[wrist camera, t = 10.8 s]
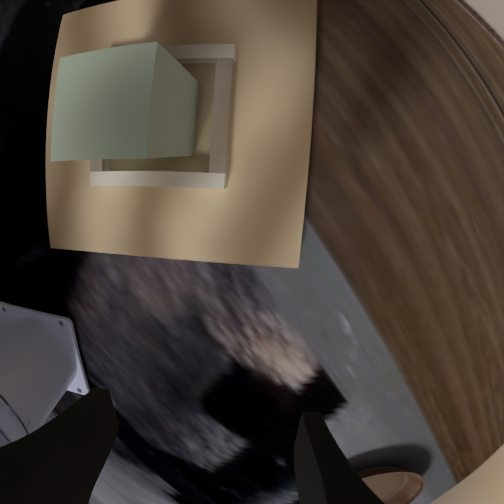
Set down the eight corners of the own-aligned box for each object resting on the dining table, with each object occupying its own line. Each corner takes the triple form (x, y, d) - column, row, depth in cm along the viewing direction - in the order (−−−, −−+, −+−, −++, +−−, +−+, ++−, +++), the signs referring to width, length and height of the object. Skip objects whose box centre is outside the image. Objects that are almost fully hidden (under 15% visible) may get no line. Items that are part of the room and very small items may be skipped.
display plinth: (62, 241, 19) (42, 252, 17) (73, 21, 15) (55, 10, 12) (295, 259, 19) (299, 275, 17) (313, 4, 14) (319, -14, 12)
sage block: (125, 155, 16) (50, 161, 9) (130, 86, 15) (59, 58, 8) (193, 155, 16) (146, 158, 9) (199, 83, 15) (157, 41, 8)
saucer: (272, 494, 28) (272, 512, 25) (388, 438, 25) (395, 458, 22) (339, 520, 31) (342, 535, 28) (434, 474, 27) (440, 489, 25)
